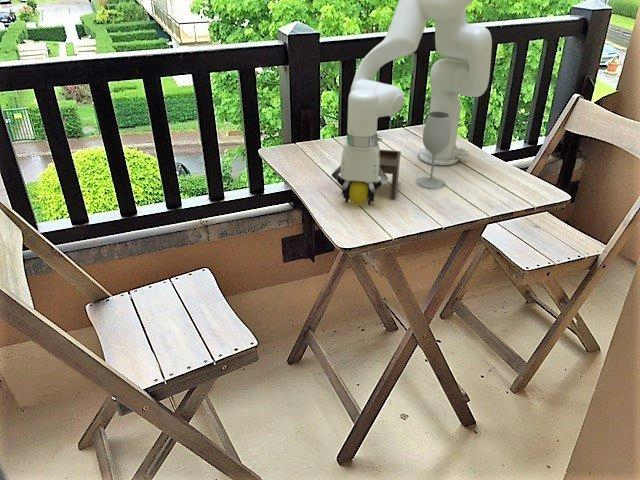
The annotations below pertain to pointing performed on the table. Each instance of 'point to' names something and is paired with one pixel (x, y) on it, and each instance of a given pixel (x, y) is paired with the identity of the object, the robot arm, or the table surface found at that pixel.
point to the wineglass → (435, 142)
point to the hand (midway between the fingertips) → (358, 201)
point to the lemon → (358, 192)
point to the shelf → (390, 167)
